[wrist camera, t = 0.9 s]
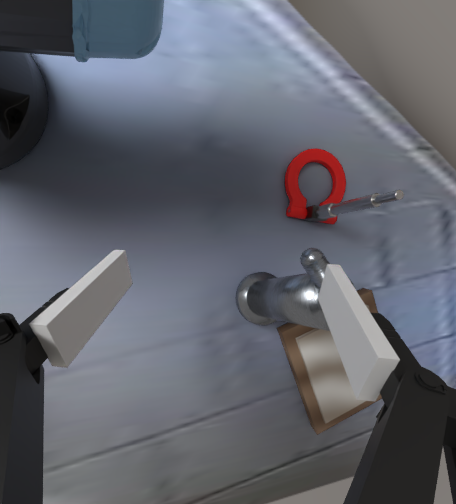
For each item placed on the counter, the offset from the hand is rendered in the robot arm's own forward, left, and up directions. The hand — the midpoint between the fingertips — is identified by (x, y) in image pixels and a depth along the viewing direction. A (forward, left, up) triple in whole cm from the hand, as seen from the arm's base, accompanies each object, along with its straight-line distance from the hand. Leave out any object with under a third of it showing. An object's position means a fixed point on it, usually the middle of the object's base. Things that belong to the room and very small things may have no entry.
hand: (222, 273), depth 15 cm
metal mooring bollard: (+7, +4, -12) cm, 15 cm away
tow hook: (-3, +17, -13) cm, 22 cm away
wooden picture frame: (+21, +13, -13) cm, 27 cm away
